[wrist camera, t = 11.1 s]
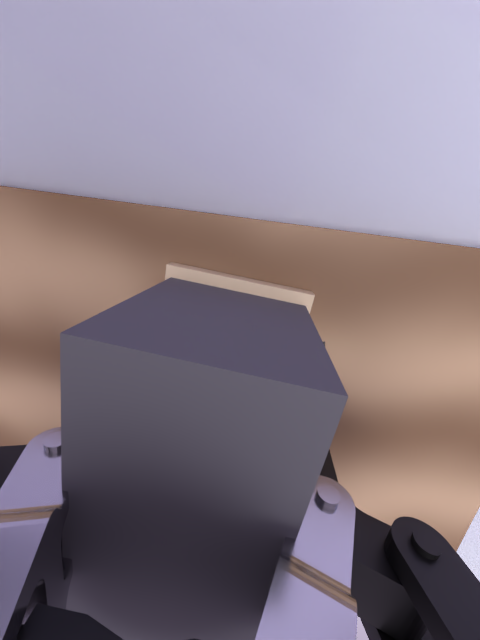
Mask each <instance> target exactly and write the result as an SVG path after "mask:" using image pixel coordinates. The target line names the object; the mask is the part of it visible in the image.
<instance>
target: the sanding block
mask: <svg viewBox="0 0 480 640" xmlns="http://www.w3.org/2000/svg"><path fill="white" fill-rule="evenodd" d="M314 297H315V295H314V293H313V292H312V291H307V290H302V289H297V288H293V287H288V286H283V285H278V284H273V283H269V282H264V281H259V280H254V279H250V278H245V277H240V276H235V275H231V274H226V273H221V272H216V271H212V270H207V269H202V268H197V267H193V266H188V265H183V264H178V263H174V262H172V263H169V264H166V274H165V281H163V282H161V283H159V284H157V285H155V286H153V287H151V288H149V289H147V290H145V291H143V292H141V293H139V294H137V295H135V296H133V297H131V298H129V299H127V300H125V301H123V302H121V303H119V304H117V305H115V306H113V307H111V308H109V309H107V310H105V311H103V312H101V313H99V314H97V315H95V316H93V317H91V318H89V319H87V320H85V321H83V322H81V323H79V324H77V325H75V326H73V327H71V328H69V329H67V330H65V331H63V332H61V333H60V382H61V480H62V490H63V491H68V495H69V511H68V514H67V517H66V520H65V523H64V528H63V533H62V557H64V558H69V559H72V566H73V575H72V578H71V582H70V586H69V591H68V596H67V604H66V610H70V611H75V612H79V613H84V614H88V615H89V616H91V617H92V618H93V619H95V620H96V621H98V622H99V623H101V624H102V625H103V626H105V627H106V628H108V629H109V630H111V631H112V632H113V633H115V634H116V635H118V636H119V637H121V638H122V639H123V640H188V639H199V640H255V638H256V635H257V631H258V628H259V624H260V621H261V618H262V614H263V611H264V608H265V604H266V601H267V597H268V594H269V591H270V587H271V584H272V581H273V577H274V574H275V570H276V567H277V564H278V560H279V557H280V554H281V550H282V547H283V544H284V540H285V537H289V538H294V539H296V538H297V536H298V533H299V530H300V527H301V525H302V522H303V519H304V517H305V514H306V511H307V508H308V506H309V503H310V500H311V497H312V495H313V492H314V489H315V487H316V484H317V481H318V478H319V476H320V473H321V470H322V467H323V465H324V462H325V459H326V456H327V454H328V451H329V448H330V446H331V443H332V440H333V437H334V435H335V432H336V429H337V426H338V424H339V421H340V418H341V416H342V413H343V410H344V407H345V405H346V402H347V399H348V395H347V393H346V390H345V388H344V386H343V384H342V382H341V380H340V378H339V376H338V373H337V371H336V369H335V367H334V365H333V363H332V361H331V359H330V356H329V354H328V352H327V350H326V348H325V346H324V344H323V342H322V339H321V337H320V335H319V333H318V331H317V329H316V327H315V325H314V322H313V320H312V318H311V316H310V311H311V307H312V304H313V300H314Z"/></svg>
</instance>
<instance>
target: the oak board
mask: <svg viewBox="0 0 480 640" xmlns="http://www.w3.org/2000/svg"><path fill="white" fill-rule="evenodd" d="M172 262H174V263H178V264H183V265H188V266H193V267H197V268H202V269H207V270H212V271H216V272H221V273H226V274H231V275H235V276H240V277H245V278H250V279H254V280H259V281H264V282H269V283H273V284H278V285H283V286H288V287H293V288H297V289H302V290H307V291H312V292H313V293H314V295H315V297H314V300H313V304H312V307H311V311H310V316H311V318H312V320H313V322H314V325H315V327H316V329H317V331H318V333H319V335H320V337H321V339H322V342H323V344H324V346H325V348H326V350H327V352H328V354H329V356H330V359H331V361H332V363H333V365H334V367H335V369H336V371H337V373H338V376H339V378H340V380H341V382H342V384H343V386H344V388H345V390H346V393H347V395H348V399H347V402H346V405H345V407H344V410H343V413H342V416H341V418H340V421H339V424H338V426H337V429H336V432H335V435H334V437H333V440H332V443H331V446H330V448H329V450H330V453H331V457H332V461H333V465H334V468H335V472H336V476H337V480H338V483H339V484H340V485H342V486H343V487H344V488H345V489H346V490H347V491H348V493H349V494H350V495H351V497H352V499H353V501H354V504H355V506H356V507H357V508H358V509H359V510H361V511H362V512H364V513H366V514H368V515H370V516H372V517H374V518H376V519H378V520H380V521H382V522H384V523H386V524H388V525H390V526H392V524H393V522H394V520H395V519H397V518H399V517H403V516H406V517H413V518H416V519H418V520H421V521H423V522H425V523H426V524H428V525H430V526H431V527H432V528H434V529H435V530H436V531H438V532H439V533H440V534H441V535H442V536H443V537H444V538H445V539H446V540H447V541H448V542H449V544H450V545H451V546H452V547H453V549H454V550H455V551H457V549H458V547H459V545H460V543H461V541H462V539H463V538H464V536H465V534H466V532H467V530H468V528H469V526H470V524H471V522H472V520H473V518H474V516H475V515H476V513H477V511H478V509H479V507H480V248H472V247H464V246H457V245H449V244H441V243H434V242H426V241H418V240H411V239H403V238H396V237H388V236H380V235H373V234H365V233H357V232H350V231H342V230H334V229H327V228H319V227H311V226H304V225H296V224H288V223H281V222H273V221H266V220H258V219H250V218H243V217H235V216H227V215H220V214H212V213H204V212H197V211H189V210H181V209H174V208H166V207H158V206H151V205H143V204H136V203H128V202H120V201H113V200H105V199H97V198H90V197H82V196H74V195H67V194H59V193H51V192H44V191H36V190H28V189H21V188H13V187H6V186H0V446H14V445H27V444H28V443H29V442H30V441H31V440H32V439H33V438H34V437H35V436H37V435H38V434H40V433H42V432H44V431H46V430H49V429H52V428H56V427H61V382H60V333H61V332H63V331H65V330H67V329H69V328H71V327H73V326H75V325H77V324H79V323H81V322H83V321H85V320H87V319H89V318H91V317H93V316H95V315H97V314H99V313H101V312H103V311H105V310H107V309H109V308H111V307H113V306H115V305H117V304H119V303H121V302H123V301H125V300H127V299H129V298H131V297H133V296H135V295H137V294H139V293H141V292H143V291H145V290H147V289H149V288H151V287H153V286H155V285H157V284H159V283H161V282H163V281H165V274H166V264H169V263H172Z"/></svg>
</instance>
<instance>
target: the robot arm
mask: <svg viewBox="0 0 480 640" xmlns="http://www.w3.org/2000/svg"><path fill="white" fill-rule="evenodd" d="M68 511H69V495H68V491H63V490H62V480H61V427H56V428H52V429H49V430H46V431H44V432H42V433H40V434H38V435H37V436H35V437H34V438H33V439H32V440H31V441H30V442H29V443H28V444H27V445H14V446H0V640H123V639H122V638H121V637H119V636H118V635H116V634H115V633H113V632H112V631H111V630H109V629H108V628H106V627H105V626H103V625H102V624H101V623H99V622H98V621H96V620H95V619H93V618H92V617H91V616H89V615H88V614H84V613H79V612H75V611H70V610H66V604H67V596H68V591H69V586H70V582H71V578H72V575H73V566H72V559H69V558H64V557H62V533H63V528H64V523H65V520H66V517H67V514H68ZM357 616H358V617H360V618H361V621H362V624H363V626H364V628H365V631H366V633H367V635H368V638H369V640H480V582H479V581H478V579H477V578H476V577H475V576H474V574H473V573H472V572H471V570H470V569H469V568H468V567H467V565H466V564H465V563H464V561H463V560H462V559H461V558H460V556H459V555H458V554H457V553H456V551H455V550H454V549H453V547H452V546H451V545H450V544H449V542H448V541H447V540H446V539H445V538H444V537H443V536H442V535H441V534H440V533H439V532H438V531H436V530H435V529H434V528H432V527H431V526H430V525H428V524H426V523H425V522H423V521H421V520H418V519H416V518H413V517H406V516H403V517H399V518H397V519H395V520H394V522H393V524H392V526H390V525H388V524H386V523H384V522H382V521H380V520H378V519H376V518H374V517H372V516H370V515H368V514H366V513H364V512H362V511H361V510H359V509H358V508H357V507H356V506H355V504H354V501H353V499H352V497H351V495H350V494H349V493H348V491H347V490H346V489H345V488H344V487H343V486H342V485H340V484H339V483H338V480H337V476H336V472H335V468H334V465H333V461H332V457H331V453H330V450H329V451H328V454H327V456H326V459H325V462H324V465H323V467H322V470H321V473H320V476H319V478H318V481H317V484H316V487H315V489H314V492H313V495H312V497H311V500H310V503H309V506H308V508H307V511H306V514H305V517H304V519H303V522H302V525H301V527H300V530H299V533H298V536H297V538H296V539H294V538H289V537H285V540H284V544H283V547H282V550H281V554H280V557H279V560H278V564H277V567H276V570H275V574H274V577H273V581H272V584H271V587H270V591H269V594H268V597H267V601H266V604H265V608H264V611H263V614H262V618H261V621H260V624H259V628H258V631H257V635H256V638H255V640H356V634H357ZM188 640H199V639H188Z"/></svg>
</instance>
